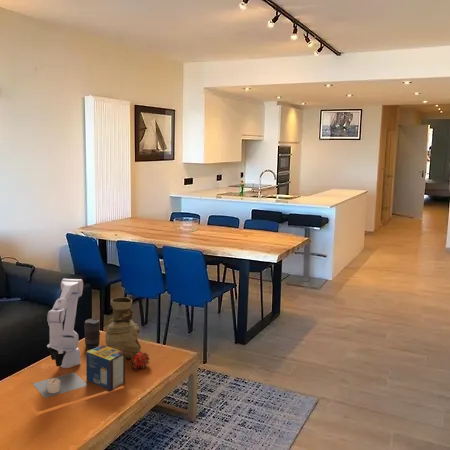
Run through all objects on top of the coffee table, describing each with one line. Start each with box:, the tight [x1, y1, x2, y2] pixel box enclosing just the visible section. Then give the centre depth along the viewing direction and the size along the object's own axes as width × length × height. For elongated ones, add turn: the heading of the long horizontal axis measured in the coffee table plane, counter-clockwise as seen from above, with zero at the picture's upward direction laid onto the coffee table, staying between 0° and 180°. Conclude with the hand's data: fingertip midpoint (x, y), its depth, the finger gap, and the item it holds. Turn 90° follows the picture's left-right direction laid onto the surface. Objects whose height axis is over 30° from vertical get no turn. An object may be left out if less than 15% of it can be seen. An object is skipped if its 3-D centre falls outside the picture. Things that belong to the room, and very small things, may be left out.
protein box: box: [85, 344, 126, 392], centre depth 230 cm, size 10×15×16 cm
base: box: [31, 371, 89, 399], centre depth 226 cm, size 20×16×4 cm
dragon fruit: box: [130, 350, 150, 370], centre depth 248 cm, size 8×8×12 cm
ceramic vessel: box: [105, 296, 142, 360], centre depth 262 cm, size 19×21×30 cm
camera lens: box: [83, 318, 101, 350], centre depth 269 cm, size 8×8×15 cm
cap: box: [47, 377, 60, 393], centre depth 220 cm, size 5×5×5 cm
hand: (56, 362), depth 229 cm, fingers open, 7 cm apart
